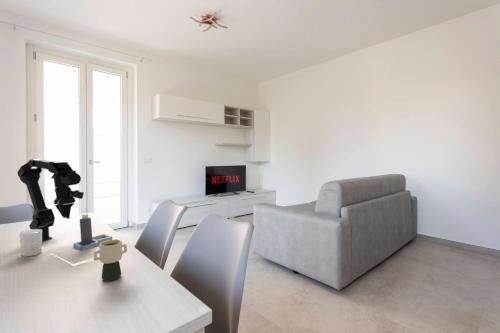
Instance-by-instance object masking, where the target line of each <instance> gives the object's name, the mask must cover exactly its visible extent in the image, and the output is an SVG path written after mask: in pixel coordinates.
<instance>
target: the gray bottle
mask: <svg viewBox="0 0 500 333" xmlns="http://www.w3.org/2000/svg"><path fill="white" fill-rule="evenodd" d="M92 229H93V228H92V218H91V217H89V214H88V213H83V214H81V218H80V219H79V231H80V242H81V245H82V246H84V245H87V244H91V243H93V240H92V237H93V232H92V231H93V230H92Z"/></svg>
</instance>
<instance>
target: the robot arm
mask: <svg viewBox="0 0 500 333" xmlns="http://www.w3.org/2000/svg"><path fill="white" fill-rule="evenodd" d="M43 169H44V170H48V172H49V173H52V174H53V175H52V176H51V177H50V178H51V179H53V182H54V192H55V198H54V200H53V204H54V206H55V207H56V209H57V211H58V212H59V213H60V215H61V216H62V218H63V219H70V216H71V211H72V210H71V208H72V207H73V206H74V205H75V203H76V198H77V199H83V198H84V195H85V192H83V191H80V190H79V189H75V190H72V188H71V187H70V186H74V185H75V186H76V185H78V184H80V183H81V179H82V177H81V176H80V175H81V174H79V173H77V171H76V170H74V169H73V168H72V167H71V166H70V163H69V162H68V161H63V160H60V161H51V160H44V159H41V158H32V159H29V160H28V161H27V163H26V162H25V164H23V165H21V166H20V168H18V170H17V176H18V178H19V180H20V181H21V182H22V183H23V184H24V185H26V188H27V191H28V194H29V197H30V200H31V203H32V207H33V210H34V211H33V214H32V217H31V218H32V219H31V220H32V221H31V222H30V224H29V225H28V226H29V230H32V229H41V230H42V242H43V241H47V240H52V239H53V237H52V236H50V227H53V226H54V224H55V220H56V218H55V214H54V211H53V209H52V208H48V207H47V205H46V202H45V198H44V196H43V193H42V189H41V187H40V184H39V180H40V178H41V173H42V171H43Z"/></svg>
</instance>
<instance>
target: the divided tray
mask: <svg viewBox="0 0 500 333" xmlns="http://www.w3.org/2000/svg"><path fill="white" fill-rule="evenodd" d="M92 240H93V243H91V244H87V245H84V246H82V245H81V241H78V242H73V248H75V249H77V250H80V251H83V250H87V249H91V248H94V247H99V244H100V243H101V242H104V241H107V240H113V236H111V235H109V234H105V233H103V234H98V235H95V236H92Z"/></svg>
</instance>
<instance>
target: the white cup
mask: <svg viewBox="0 0 500 333" xmlns="http://www.w3.org/2000/svg"><path fill="white" fill-rule="evenodd" d="M18 235H19V236H18V237H19V244H20V250H21V256H22V257H31V256H36V255H39V254H40V253H42V246H43V245H42V244H43V241H42V230H41V229H28V230H23V231H21V232H19V233H18Z"/></svg>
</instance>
